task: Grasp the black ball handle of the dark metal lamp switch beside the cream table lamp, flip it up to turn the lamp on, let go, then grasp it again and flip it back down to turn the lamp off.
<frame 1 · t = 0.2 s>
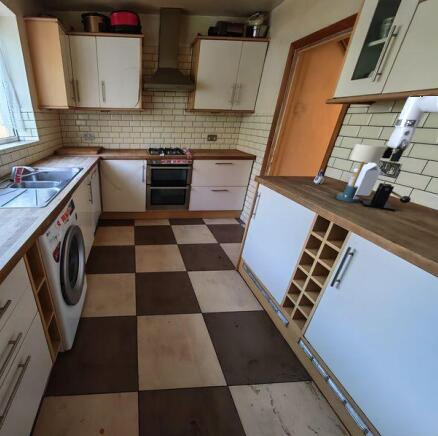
hand: (389, 159, 116), 23 cm above the table, tool pointing down, fingers open, 9 cm apart
sprinkles bottle: (350, 189, 147), on the table
lamp switch: (395, 193, 115), point 8 cm above the table, hinge at -25.0°
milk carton: (358, 194, 139), on the table
table lamp: (346, 199, 130), on the table
switch bracket: (376, 206, 121), on the table
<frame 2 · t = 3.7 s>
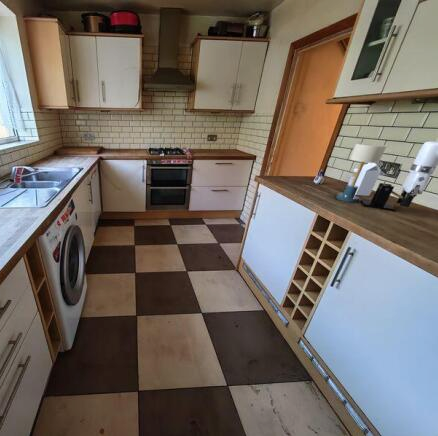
hand: (402, 204, 115), 3 cm above the table, tool pointing down, fingers closed on lamp switch, 3 cm apart
lamp switch: (395, 193, 115), point 8 cm above the table, hinge at -25.0°, touching gripper
everything else where it was.
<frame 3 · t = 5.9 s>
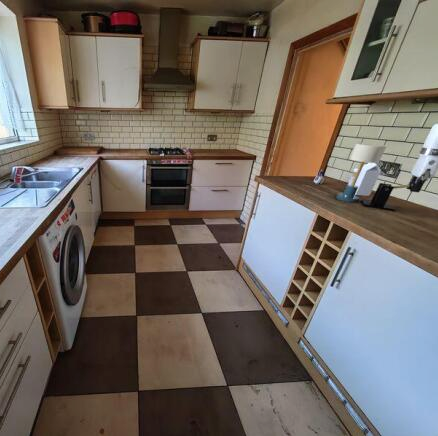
hand: (412, 190, 112), 11 cm above the table, tool pointing down, fingers closed on lamp switch, 3 cm apart
lamp switch: (399, 186, 114), point 12 cm above the table, hinge at 18.4°, touching gripper
everything else where it was.
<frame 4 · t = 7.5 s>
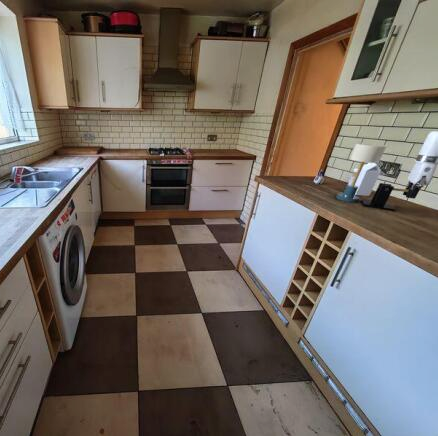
hand: (408, 196, 113), 8 cm above the table, tool pointing down, fingers closed on lamp switch, 3 cm apart
lamp switch: (399, 189, 114), point 10 cm above the table, hinge at 1.4°, touching gripper
everything else where it was.
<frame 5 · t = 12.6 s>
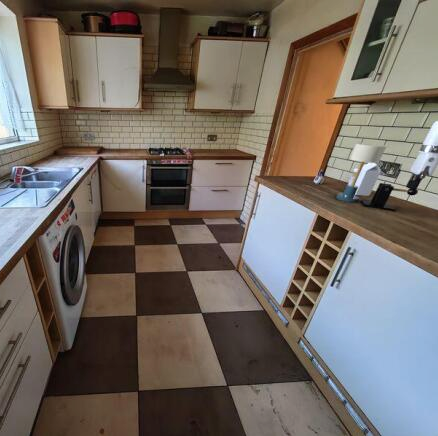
hand: (410, 187, 112), 12 cm above the table, tool pointing down, fingers closed
lamp switch: (399, 190, 114), point 10 cm above the table, hinge at 0.3°, touching gripper
everything else where it was.
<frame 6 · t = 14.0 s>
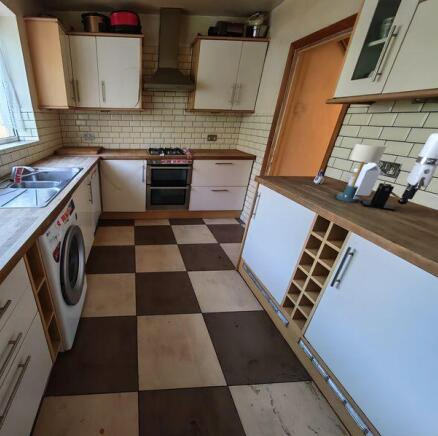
hand: (406, 198, 114), 7 cm above the table, tool pointing down, fingers closed
lamp switch: (394, 194, 116), point 7 cm above the table, hinge at -31.2°, touching gripper
everything else where it was.
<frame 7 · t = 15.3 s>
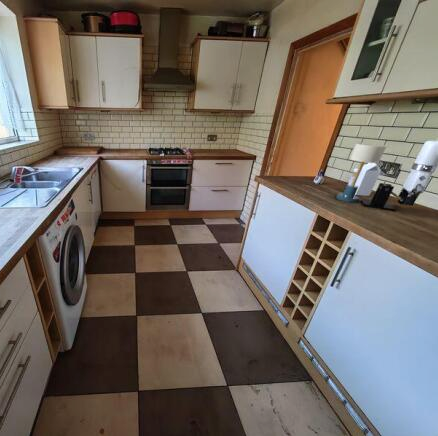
hand: (404, 202, 115), 4 cm above the table, tool pointing down, fingers open, 8 cm apart
lamp switch: (394, 194, 116), point 7 cm above the table, hinge at -30.5°
everything else where it was.
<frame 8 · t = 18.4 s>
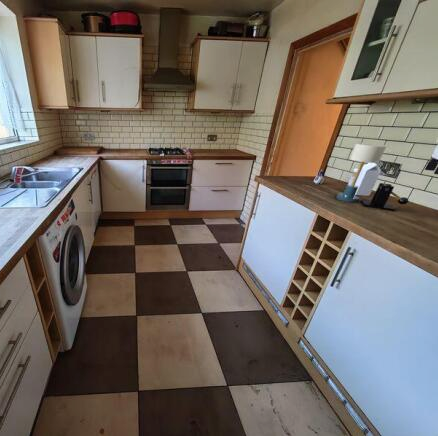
hand: (433, 172, 106), 20 cm above the table, tool pointing down, fingers open, 9 cm apart
nothing on the table moved.
at the end: lamp switch reached +20° during the clip, -30° at the end; lamp switch at -30° (first picture: -25°) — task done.
